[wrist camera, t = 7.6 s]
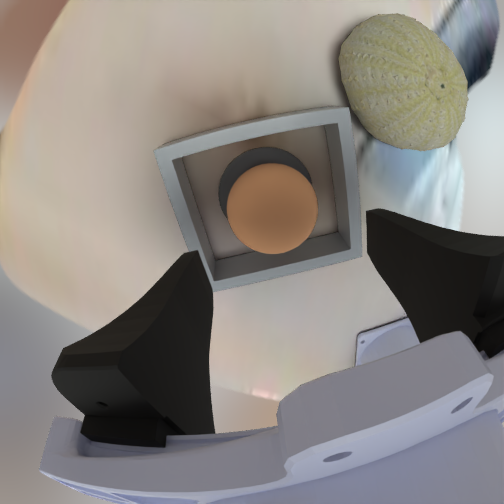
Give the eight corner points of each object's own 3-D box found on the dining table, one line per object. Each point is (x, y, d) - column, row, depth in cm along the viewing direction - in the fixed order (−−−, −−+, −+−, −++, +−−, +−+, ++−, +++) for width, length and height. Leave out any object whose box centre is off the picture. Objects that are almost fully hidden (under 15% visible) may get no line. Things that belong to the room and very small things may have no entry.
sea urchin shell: (398, -14, 9) (508, 56, 6) (404, 58, 16) (479, 121, 13) (298, 45, 11) (420, 137, 9) (329, 115, 19) (405, 190, 16)
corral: (349, 239, 20) (362, 256, 18) (208, 272, 20) (206, 293, 18) (333, 106, 15) (348, 107, 13) (164, 144, 15) (153, 150, 13)
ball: (307, 221, 19) (334, 258, 14) (235, 238, 19) (241, 281, 14) (297, 149, 16) (325, 165, 12) (217, 166, 16) (216, 189, 12)
